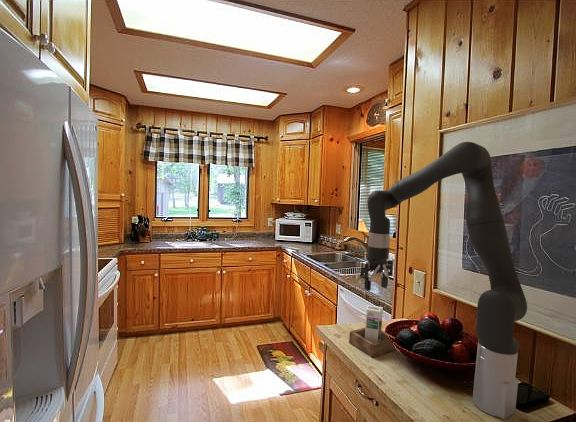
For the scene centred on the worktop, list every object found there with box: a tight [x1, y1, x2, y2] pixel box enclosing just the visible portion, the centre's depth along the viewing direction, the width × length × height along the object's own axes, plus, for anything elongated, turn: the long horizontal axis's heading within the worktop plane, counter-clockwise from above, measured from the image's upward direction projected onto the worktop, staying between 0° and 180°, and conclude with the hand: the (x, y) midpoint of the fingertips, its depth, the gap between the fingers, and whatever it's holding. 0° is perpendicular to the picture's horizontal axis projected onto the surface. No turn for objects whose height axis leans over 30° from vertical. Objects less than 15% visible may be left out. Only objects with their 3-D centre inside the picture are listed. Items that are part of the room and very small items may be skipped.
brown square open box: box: [348, 327, 397, 359], centre depth 122 cm, size 12×12×4 cm
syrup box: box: [364, 304, 384, 343], centre depth 122 cm, size 6×6×14 cm
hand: (375, 288), depth 120 cm, fingers open, 8 cm apart
